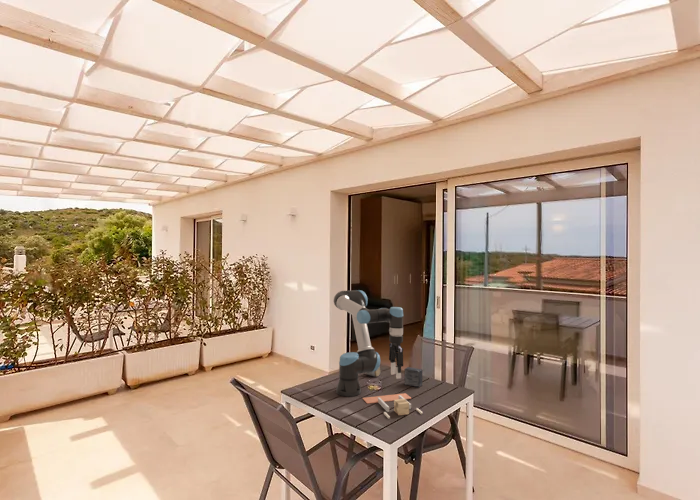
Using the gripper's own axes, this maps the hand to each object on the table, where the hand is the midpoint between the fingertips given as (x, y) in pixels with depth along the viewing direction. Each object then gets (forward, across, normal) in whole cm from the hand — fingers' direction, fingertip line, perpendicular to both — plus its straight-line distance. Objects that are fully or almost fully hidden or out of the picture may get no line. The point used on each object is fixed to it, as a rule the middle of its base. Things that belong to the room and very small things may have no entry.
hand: (395, 376), depth 204 cm
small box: (+17, -29, +26) cm, 43 cm away
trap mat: (+17, -12, 0) cm, 21 cm away
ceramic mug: (+17, -54, +8) cm, 58 cm away
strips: (+17, +10, 0) cm, 20 cm away
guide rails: (+17, -2, 0) cm, 17 cm away
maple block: (+17, +8, 0) cm, 19 cm away
